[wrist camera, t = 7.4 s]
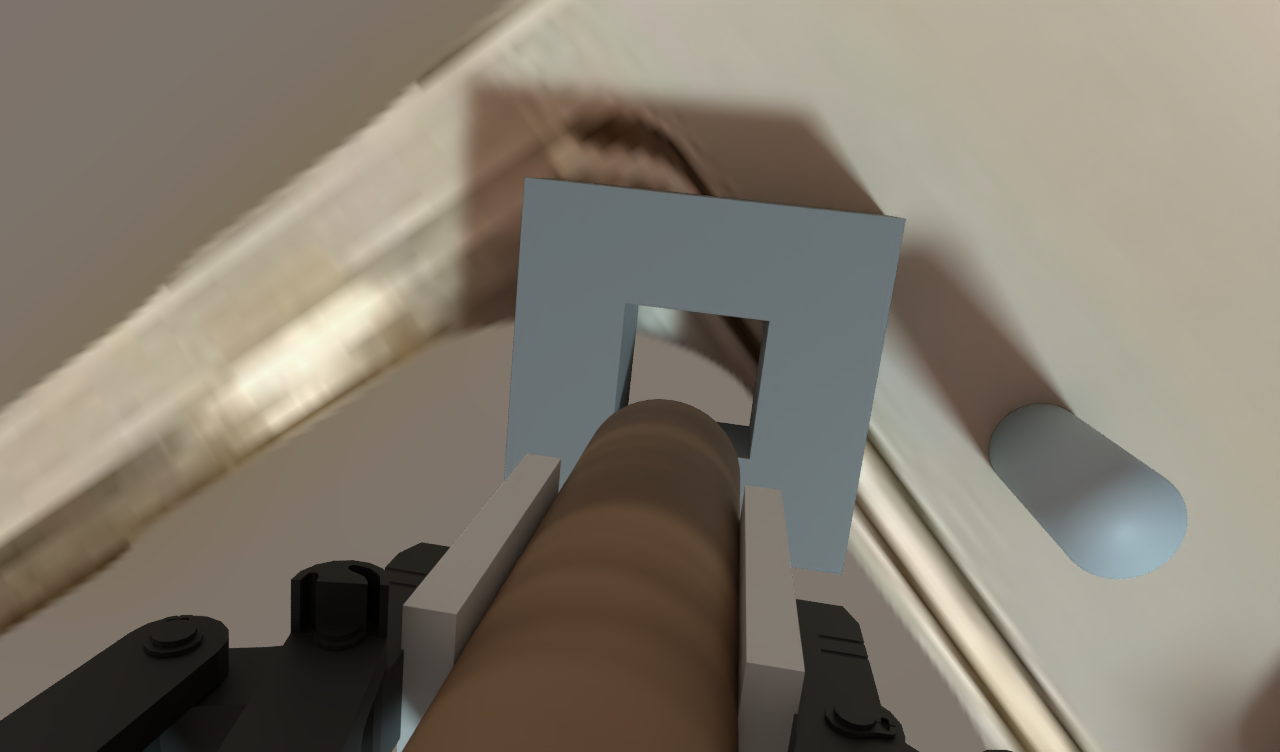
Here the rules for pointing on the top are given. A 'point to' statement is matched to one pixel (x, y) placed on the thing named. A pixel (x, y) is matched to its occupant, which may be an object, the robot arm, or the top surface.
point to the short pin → (1088, 492)
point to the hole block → (715, 284)
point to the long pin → (613, 606)
